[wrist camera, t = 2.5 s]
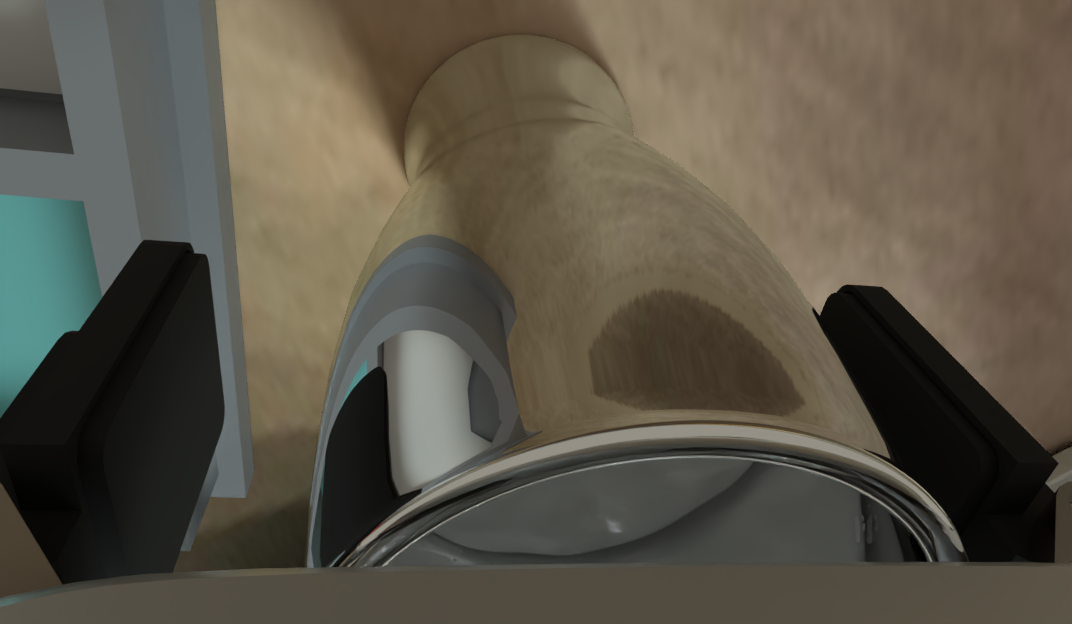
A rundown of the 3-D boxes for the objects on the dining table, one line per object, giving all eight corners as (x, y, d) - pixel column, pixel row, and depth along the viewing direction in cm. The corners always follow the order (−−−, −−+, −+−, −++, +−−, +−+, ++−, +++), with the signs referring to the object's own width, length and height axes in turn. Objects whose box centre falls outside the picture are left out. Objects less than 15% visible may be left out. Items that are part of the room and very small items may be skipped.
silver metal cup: (337, 79, 18) (79, 593, 6) (601, -34, 17) (988, 269, 5) (454, 298, 22) (456, 908, 9) (676, 213, 21) (1008, 753, 8)
